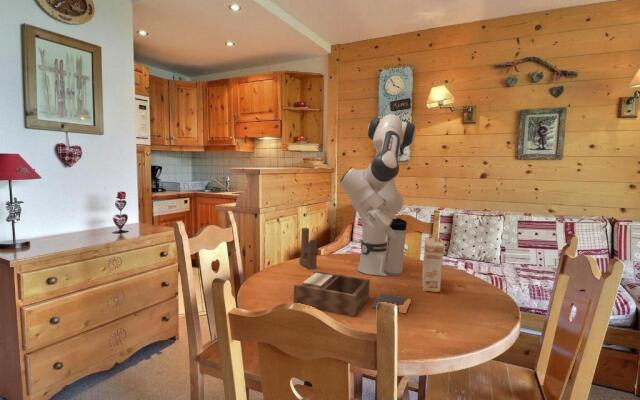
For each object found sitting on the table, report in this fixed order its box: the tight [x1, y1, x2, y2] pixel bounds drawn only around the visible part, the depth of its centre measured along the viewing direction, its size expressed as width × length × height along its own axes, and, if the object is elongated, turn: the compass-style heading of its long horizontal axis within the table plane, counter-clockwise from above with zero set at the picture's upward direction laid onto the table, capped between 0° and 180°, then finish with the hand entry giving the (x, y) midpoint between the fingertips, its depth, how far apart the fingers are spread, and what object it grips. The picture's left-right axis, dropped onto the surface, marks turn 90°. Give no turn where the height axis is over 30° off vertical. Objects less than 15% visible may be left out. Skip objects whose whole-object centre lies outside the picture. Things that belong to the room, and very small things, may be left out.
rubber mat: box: [371, 292, 409, 312], centre depth 131 cm, size 14×12×1 cm
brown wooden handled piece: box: [299, 227, 318, 270], centre depth 173 cm, size 4×11×18 cm, turn 32°
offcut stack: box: [302, 273, 333, 289], centre depth 135 cm, size 8×13×8 cm, turn 159°
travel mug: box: [384, 217, 408, 277], centre depth 129 cm, size 6×7×20 cm
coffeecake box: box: [421, 237, 445, 292], centre depth 151 cm, size 15×7×20 cm, turn 164°
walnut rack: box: [293, 270, 371, 317], centre depth 132 cm, size 23×19×7 cm
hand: (398, 235), depth 128 cm, fingers closed on travel mug, 6 cm apart
